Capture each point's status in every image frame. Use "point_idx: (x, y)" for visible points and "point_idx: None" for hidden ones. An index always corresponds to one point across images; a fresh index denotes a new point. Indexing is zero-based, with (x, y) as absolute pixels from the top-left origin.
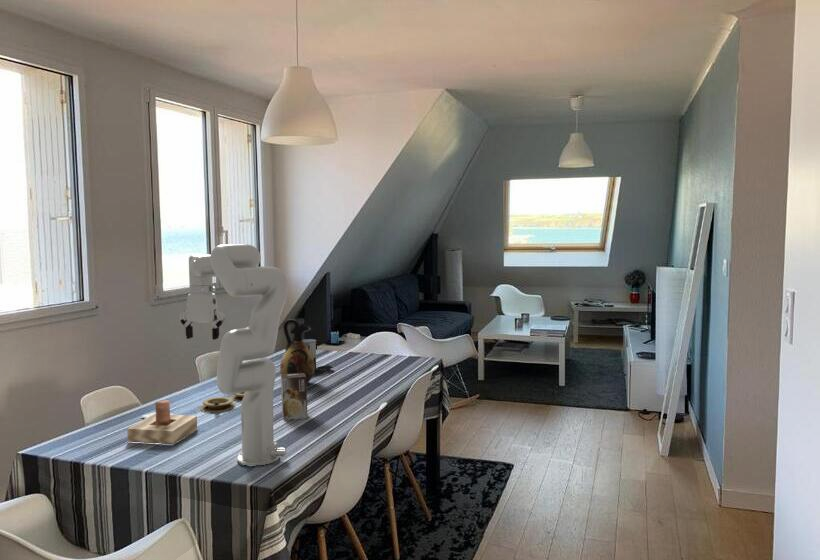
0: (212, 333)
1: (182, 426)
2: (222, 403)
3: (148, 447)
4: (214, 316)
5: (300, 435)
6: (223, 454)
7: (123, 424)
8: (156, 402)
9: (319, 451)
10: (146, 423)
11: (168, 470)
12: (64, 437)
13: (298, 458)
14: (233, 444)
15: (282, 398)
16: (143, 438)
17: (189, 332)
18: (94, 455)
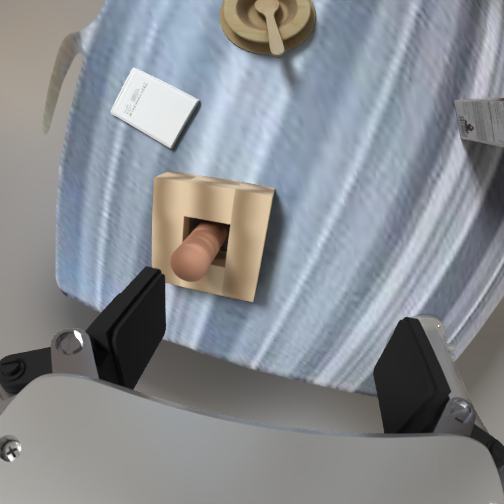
0: (381, 408)
1: (260, 262)
2: (289, 28)
3: None
4: (450, 502)
5: (486, 240)
6: (362, 324)
7: (99, 156)
8: (174, 267)
9: (493, 310)
10: (171, 249)
11: (288, 370)
12: (58, 231)
13: (464, 334)
14: (376, 281)
15: (488, 139)
16: None
17: (145, 353)
18: None
